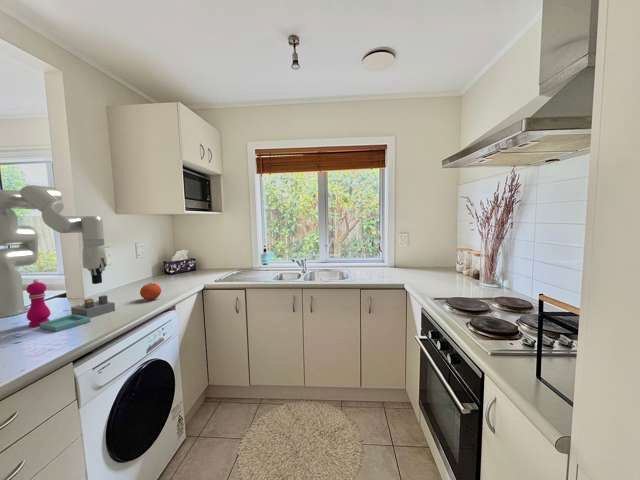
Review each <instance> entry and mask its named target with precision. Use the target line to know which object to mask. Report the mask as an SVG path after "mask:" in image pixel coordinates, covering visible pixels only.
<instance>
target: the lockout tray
mask: <svg viewBox="0 0 640 480" xmlns="http://www.w3.org/2000/svg"><path fill="white" fill-rule="evenodd" d="M88 323H91V318H90V317H85V316H80V315H75V314H73V315H72V314H70V315H66V316H63V317H59V318H55V319H52V320H50V321H47V322H43V323H40V327H39V329H42V330H46V331H49V332H54V333H59V332H62V331H65V330H68V329H71V328H75V327H78V326H82V325H86V324H88Z"/></svg>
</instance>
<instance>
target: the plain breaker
mask: <svg viewBox="0 0 640 480" xmlns="http://www.w3.org/2000/svg"><path fill="white" fill-rule="evenodd" d="M98 300H99V304H105V303H108V302H109V301H108V295H106V294H104V295H100V296H98Z"/></svg>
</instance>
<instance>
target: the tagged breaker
mask: <svg viewBox="0 0 640 480" xmlns="http://www.w3.org/2000/svg"><path fill="white" fill-rule="evenodd" d="M94 301H95V300H94V298H86V299H83V304H85V308H90V307H94Z"/></svg>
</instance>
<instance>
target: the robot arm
mask: <svg viewBox="0 0 640 480" xmlns="http://www.w3.org/2000/svg"><path fill="white" fill-rule="evenodd" d="M62 200H63V195H62V193H61V191H60V190H59V189H57V188H55V187H52V186H46V185H36V184H35V185H34V184H31V185H25V186H23V187H21V189H20V190H16V189H15V190H12V189H0V247H6V248H0V318H6V317H12V316H17V315H21V314H23V313H24V314H25V313H26V312H27V313H28V311H29V309H30V307H27V306H25V300H24V299H25V298H24V289H23V288H24V287H23V278H22V274H21V273H20V272H19V271H18V270H17V267H20V268H21V267H26V266H32V265H34V264H35V263H37V261H38V258H39V235H38V232H37V230H36V229H35V227H33V226H31V225H30V226H29V225H19V218H18V215H17V213H16V212H15V211H14V209H19V210H38V211H39V212H41V218H42V221H43V223H44V224H45V225H46V226H48V227H49V228H50V229H52V230H53V231H55V232H57V233H60V234H75V233H77V234H81V236H82V237H81V238H82V247H83V248H82V267H83V269H87V271H89V272H90V275H91V284H93V285H98V284H102V283H103V278H102V275H103V272H105V271H106V267H107V265H108V262H107V261H108V260H107V254H106V249H105V235H104V225H103V224H104V223H103V218H102V217H101V216H100V215H99V216H98V215H89V216H88V215H86V216H83V215H63V214H60V213H61V212H62V211H63V209H64V203H63V201H62ZM7 246H18V247H8V248H7Z"/></svg>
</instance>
